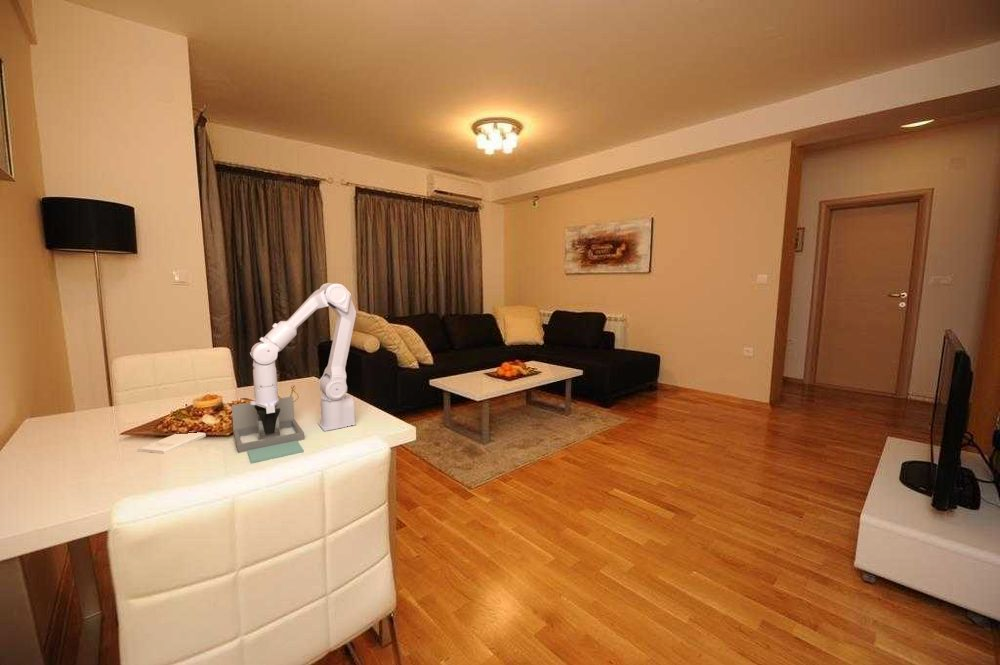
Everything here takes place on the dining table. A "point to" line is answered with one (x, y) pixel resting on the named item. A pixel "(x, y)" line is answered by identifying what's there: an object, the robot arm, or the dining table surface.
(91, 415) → the dining table surface
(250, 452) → the module mat
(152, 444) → the external hard drive
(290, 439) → the equipment case
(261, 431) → the block
